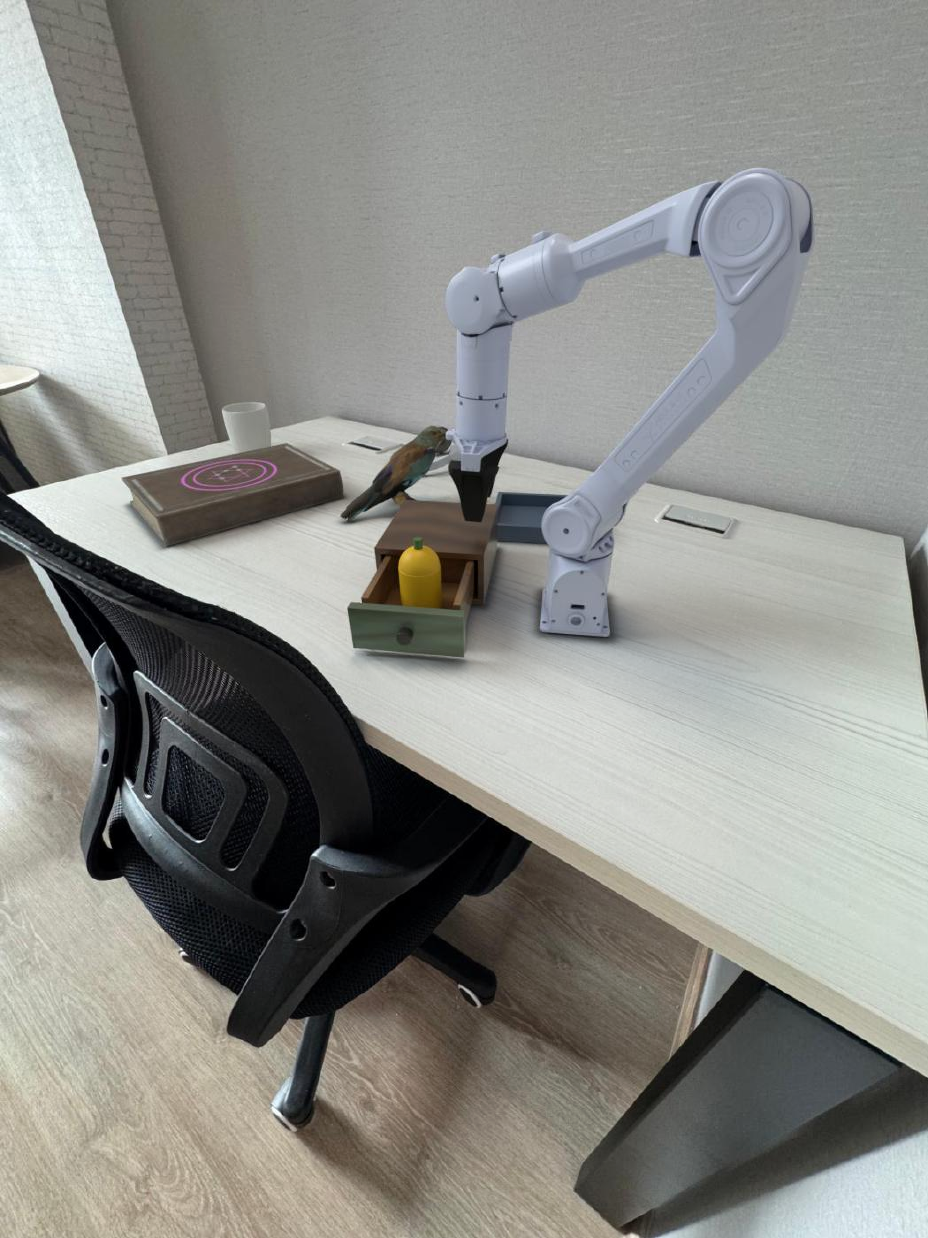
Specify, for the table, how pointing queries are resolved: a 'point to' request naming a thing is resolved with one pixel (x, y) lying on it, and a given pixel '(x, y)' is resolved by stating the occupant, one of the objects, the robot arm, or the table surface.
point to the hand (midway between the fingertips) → (478, 507)
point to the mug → (247, 426)
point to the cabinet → (444, 536)
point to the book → (231, 491)
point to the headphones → (443, 446)
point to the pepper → (420, 577)
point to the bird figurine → (399, 473)
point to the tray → (523, 515)
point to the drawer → (414, 612)
